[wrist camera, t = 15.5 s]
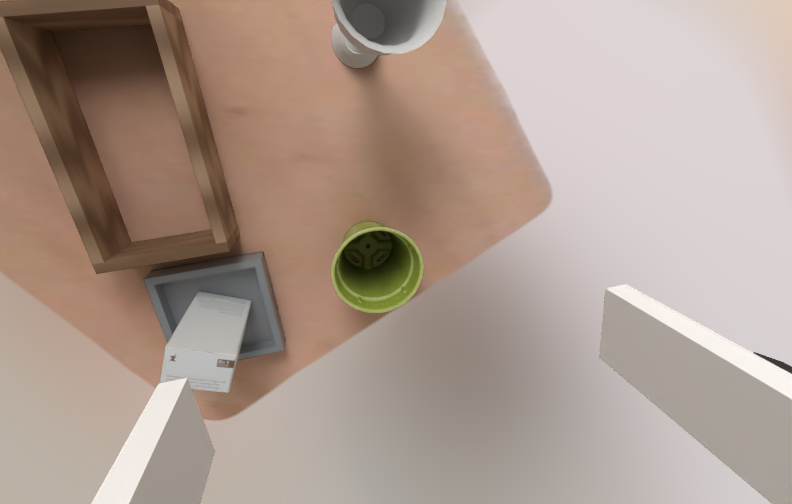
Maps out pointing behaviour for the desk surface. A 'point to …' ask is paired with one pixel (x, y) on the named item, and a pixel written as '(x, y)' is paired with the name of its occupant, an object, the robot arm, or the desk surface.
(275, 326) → the charcoal tray
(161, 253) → the walnut box
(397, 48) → the chalice
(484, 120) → the desk surface
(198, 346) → the skincare box
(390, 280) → the plant pot
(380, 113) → the desk surface
